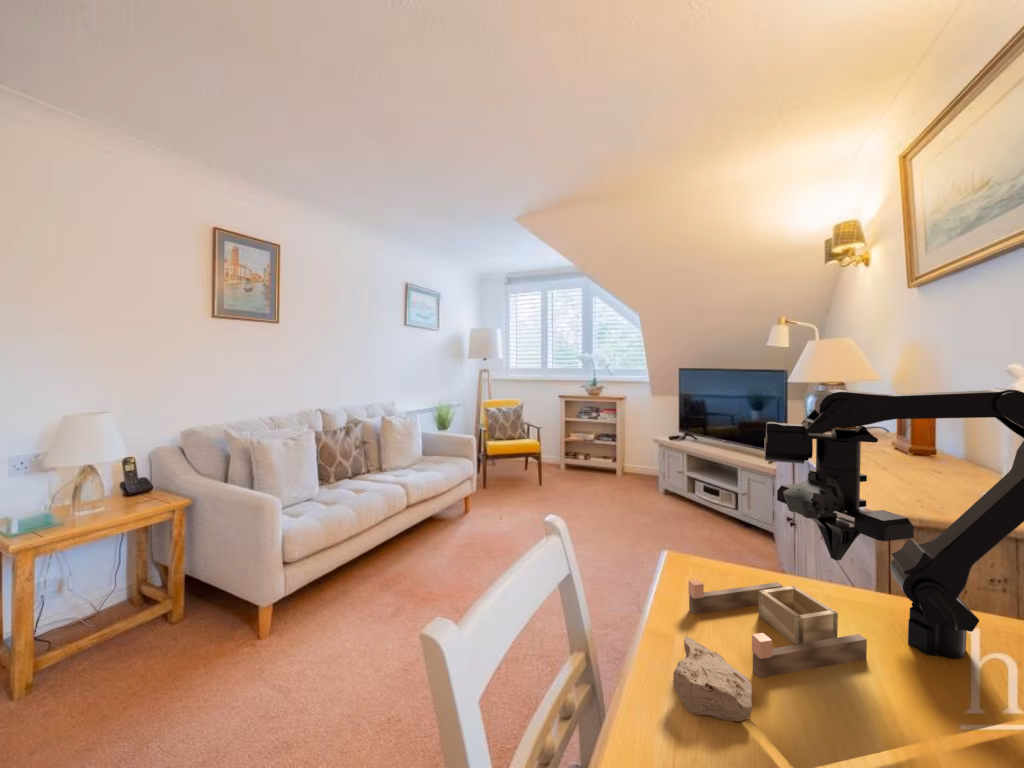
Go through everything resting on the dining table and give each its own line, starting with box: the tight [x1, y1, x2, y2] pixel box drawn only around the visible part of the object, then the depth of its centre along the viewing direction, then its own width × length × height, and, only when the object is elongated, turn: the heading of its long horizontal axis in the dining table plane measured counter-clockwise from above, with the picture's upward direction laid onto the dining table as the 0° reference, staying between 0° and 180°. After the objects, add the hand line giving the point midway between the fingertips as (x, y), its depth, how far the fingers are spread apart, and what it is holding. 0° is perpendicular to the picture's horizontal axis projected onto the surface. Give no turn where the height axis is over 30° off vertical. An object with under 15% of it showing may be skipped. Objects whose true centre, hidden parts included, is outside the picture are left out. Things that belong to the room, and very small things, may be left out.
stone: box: [672, 635, 753, 722], centre depth 56 cm, size 9×11×5 cm
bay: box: [688, 579, 868, 679], centre depth 66 cm, size 18×16×6 cm
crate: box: [758, 585, 839, 645], centre depth 67 cm, size 7×8×4 cm
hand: (835, 559), depth 68 cm, fingers closed
